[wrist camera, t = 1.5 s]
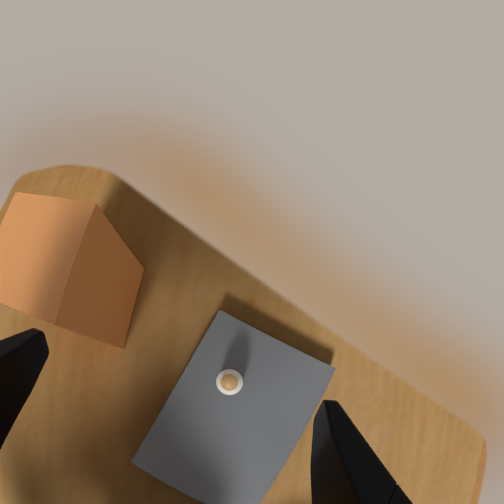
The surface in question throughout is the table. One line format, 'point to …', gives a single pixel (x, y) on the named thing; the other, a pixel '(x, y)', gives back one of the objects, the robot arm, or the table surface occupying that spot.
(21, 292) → the orange brown rectangular block
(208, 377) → the plate
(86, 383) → the table surface
